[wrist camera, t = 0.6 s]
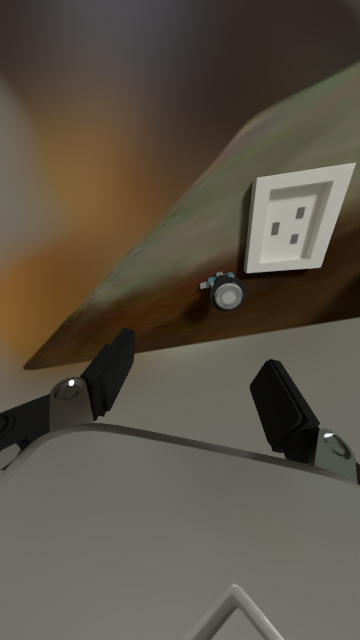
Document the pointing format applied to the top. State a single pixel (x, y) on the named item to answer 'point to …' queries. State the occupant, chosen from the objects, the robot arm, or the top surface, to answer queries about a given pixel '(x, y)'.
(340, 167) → the socket plate
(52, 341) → the top surface
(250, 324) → the top surface
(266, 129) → the top surface
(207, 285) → the push button
